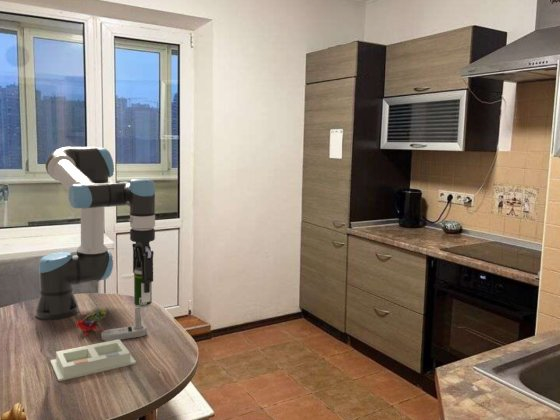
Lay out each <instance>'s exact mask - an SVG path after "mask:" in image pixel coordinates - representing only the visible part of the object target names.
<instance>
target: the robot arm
mask: <svg viewBox="0 0 560 420" xmlns="http://www.w3.org/2000/svg"><path fill="white" fill-rule="evenodd" d="M114 167H115V165H114V159H113V156H112V155H111V152H110V151H109V149H107V148H105V147H98V146H64V147H60V148H57V149H55V150H53V151H52V152H51V153H50V154H49V155H48V156H47V158H46V160H45V170H46V172H47V174H48V175H49V177H50V178H51V179H53V180H55V181H58V182H60V184H62V186H63V187H64V188H65V189H66V190H67V191H68V201H69V202H68V203H69V204H70V206H71V208H73V209H80V245H79V246H78V247H77V248H76V254H72V252H71V251H58V252H53V253H49V254H46V255H44V256H42V257H41V258H40V259H39V262H38V277H39V298H38V300H37V304H36V307H35V317H37V318H38V319H41V320H61V319H65V318H69V317H72V316H74V315H76V314H77V313H78V312H79V303H78V301H77V298H76V297H75V294H74V285H80V284H81V285H82V284H86V283H93V282H94V283H95V282H101V281H104V280H108V278H109V277H110V276H112V275H111V274H112V272H113V269H114V260H113V254H112V252H111V251H109V250H108V247H107V246H106V245H105V244H104V240H105V239H104V238H105V234H104V233H105V231H104V230H105V229H104V228H105V223H104V221H105V211H104V210H105V208H109V207H111V208H112V207H124V206H125V207H126V206H128V207H129V217H130V218H128V222H129V227H130V230H129V239H130V241H131V242H134V243H132V244H131V246H132V273H133V274H134V271H135V268H138V267H141V270H142V281H141V282H140V283H141V302H142V303H145V302H151V282H154V253H155V252H154V250H152V248H151V245H150V242H153V241H155V240H156V229H155V226H156V213H155V211H156V210H155V207H156V202H155V201H156V189H155V187H156V186H155V181H154V180H153V179H151V178H133V179H131V180H130V181H129V180H128V181H120V182H109V178H112V177H113V175H114V171H115V168H114Z"/></svg>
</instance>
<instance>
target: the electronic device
mask: <svg viewBox="0 0 560 420" xmlns="http://www.w3.org/2000/svg"><path fill="white" fill-rule="evenodd" d="M134 311H135V312H134V316H135V317H134V321H135V323H134V325H131V326H125V327H118V328H110V329H105V330H103V331H102V332H101V340H102V341H103V342H108V341H113V340H118V339H120V341H121V340H127V339H134V338H141V337H145V336H146V335H147V333H148V332H147V326H146V325H144V324H142V315H141V307H136V308H135V309H134Z"/></svg>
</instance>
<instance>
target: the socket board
mask: <svg viewBox="0 0 560 420" xmlns="http://www.w3.org/2000/svg"><path fill="white" fill-rule="evenodd" d="M50 364H51V367H52V369H53V371H54V372H53V373H55V376H56V379H57V380H58V381H57V382H62V381H66V380H70V379H75V378H76V379H77V378H79V377H83V376H89V375H92V374H97V373H101V372H106V371H109V370H114V369H119V368H123V367H127V366H131V365H132V366H133V365H136V364H137V360H135V358H134V357H133V355H132V354H131V352H130V351H129V350H128V348H127V347H126V346H125V344H124V343H123V342H122V341H121V340H120V339H118V340H113V341H103V342H99V343H94V344H88V345H83V346H79V347H73V348H68V349H63V350H57V351H55V359H50Z"/></svg>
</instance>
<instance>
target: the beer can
mask: <svg viewBox="0 0 560 420" xmlns="http://www.w3.org/2000/svg"><path fill="white" fill-rule="evenodd" d="M133 279H134V281H133V283H134V284H133V285H134V286H133V289H134V291H133V293H134V294H133V295H134V296H133V298H134V300H133V301H134V302H133V303H134V306H135V307H136V308H140V309H141V308H149V307H150V306H151V305H152V302H153V301H152V295H153V294H152V290H153V289H152V282H151V302H145V303H142V302H141V283H140V282H141V281H142V270H141V267H138V268H135V271H134V273H133Z"/></svg>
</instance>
